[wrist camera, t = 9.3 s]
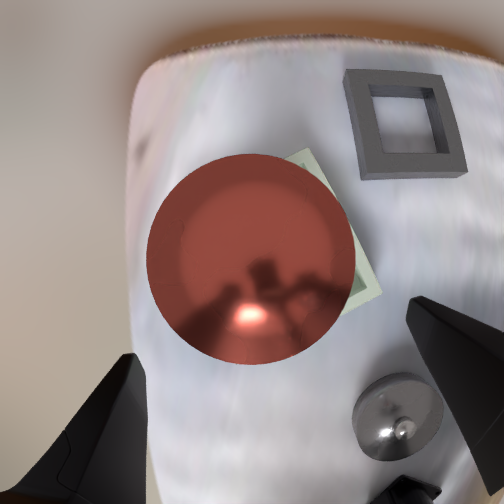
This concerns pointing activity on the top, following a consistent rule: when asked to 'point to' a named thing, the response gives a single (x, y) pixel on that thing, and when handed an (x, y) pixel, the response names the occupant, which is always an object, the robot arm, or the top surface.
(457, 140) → the tensioner block
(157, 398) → the top surface
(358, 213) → the top surface
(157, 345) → the top surface
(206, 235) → the pin
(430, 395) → the disc
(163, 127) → the top surface
